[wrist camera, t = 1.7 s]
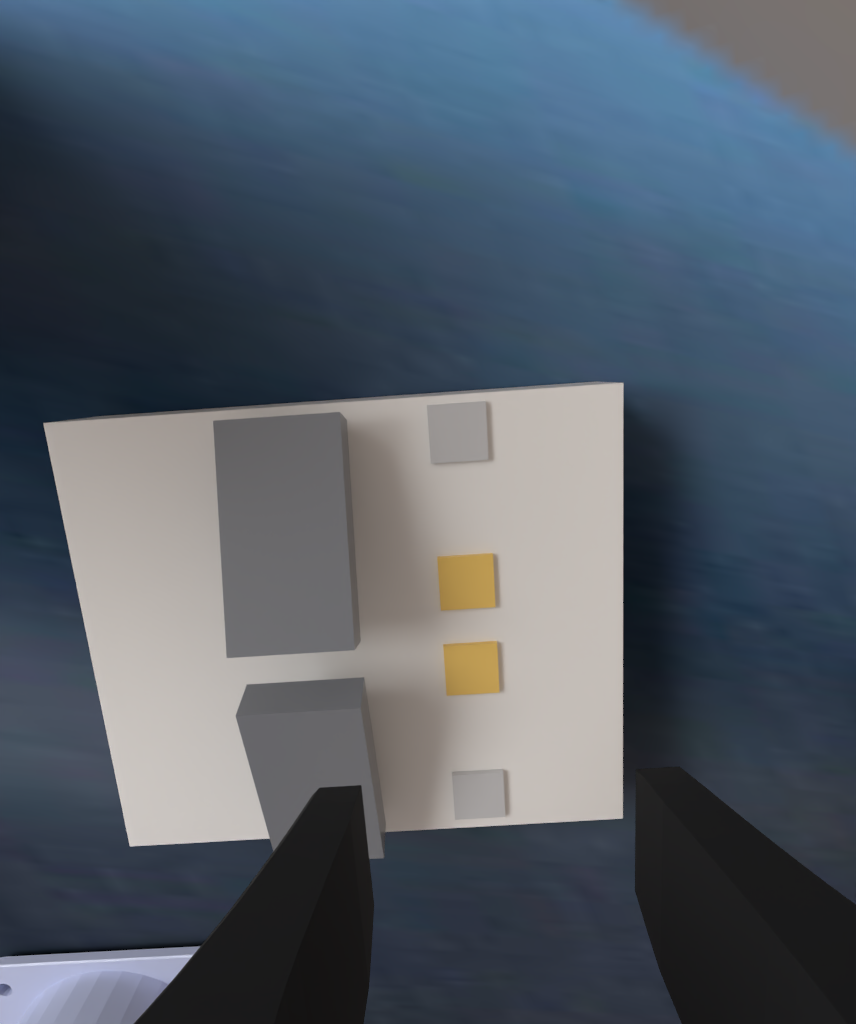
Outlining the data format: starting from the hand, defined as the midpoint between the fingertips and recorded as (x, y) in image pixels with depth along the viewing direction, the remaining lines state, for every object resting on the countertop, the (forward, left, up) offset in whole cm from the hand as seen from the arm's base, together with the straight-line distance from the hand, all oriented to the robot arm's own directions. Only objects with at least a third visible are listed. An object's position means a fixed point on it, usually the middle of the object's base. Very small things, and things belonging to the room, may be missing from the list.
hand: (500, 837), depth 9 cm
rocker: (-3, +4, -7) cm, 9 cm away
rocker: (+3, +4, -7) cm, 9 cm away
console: (0, +3, -10) cm, 10 cm away
